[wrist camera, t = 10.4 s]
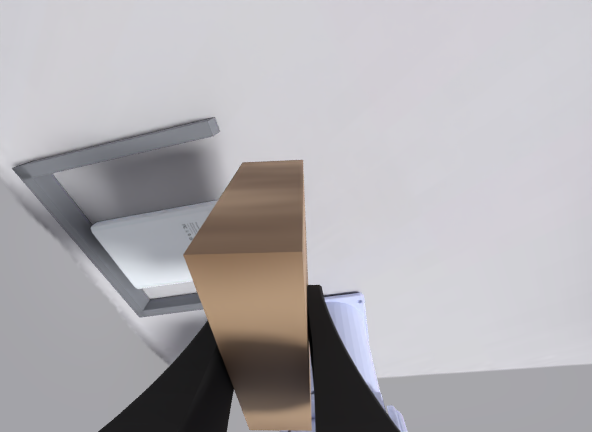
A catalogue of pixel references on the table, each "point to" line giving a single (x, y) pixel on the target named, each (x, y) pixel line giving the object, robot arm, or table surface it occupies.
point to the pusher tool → (259, 291)
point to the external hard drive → (153, 243)
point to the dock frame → (78, 225)
